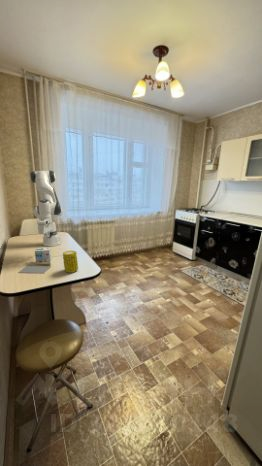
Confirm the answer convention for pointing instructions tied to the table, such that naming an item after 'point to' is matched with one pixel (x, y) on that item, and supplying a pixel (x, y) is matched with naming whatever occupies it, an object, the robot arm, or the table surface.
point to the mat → (34, 269)
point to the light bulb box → (43, 255)
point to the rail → (39, 264)
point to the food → (70, 261)
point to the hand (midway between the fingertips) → (47, 237)
